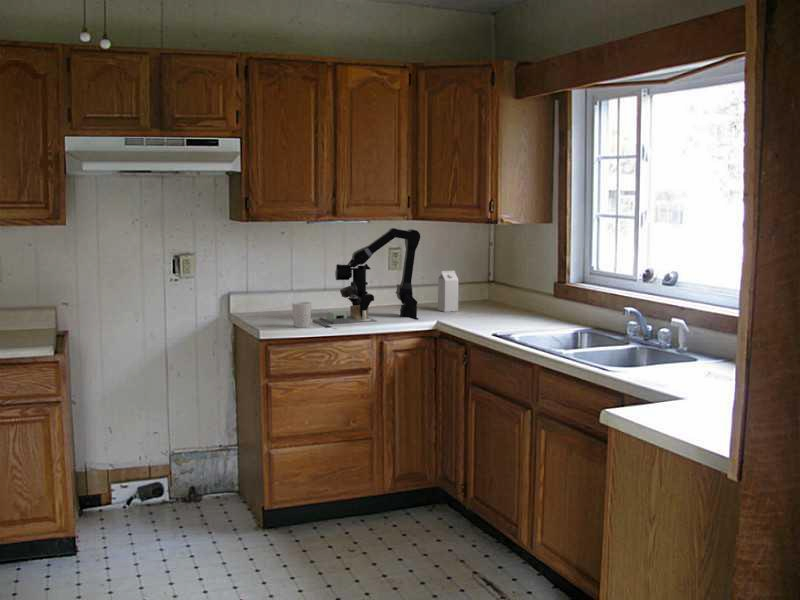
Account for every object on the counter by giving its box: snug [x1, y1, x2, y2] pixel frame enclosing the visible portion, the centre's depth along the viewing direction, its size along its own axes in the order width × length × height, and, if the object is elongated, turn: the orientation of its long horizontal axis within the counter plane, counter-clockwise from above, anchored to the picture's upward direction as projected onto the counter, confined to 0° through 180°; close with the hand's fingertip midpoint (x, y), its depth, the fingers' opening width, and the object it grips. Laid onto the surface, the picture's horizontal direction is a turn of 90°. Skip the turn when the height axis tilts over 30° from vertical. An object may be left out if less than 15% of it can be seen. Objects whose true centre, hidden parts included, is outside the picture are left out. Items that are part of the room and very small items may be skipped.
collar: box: [349, 305, 369, 319], centre depth 389 cm, size 6×6×5 cm
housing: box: [326, 310, 348, 322], centre depth 377 cm, size 6×7×4 cm
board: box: [312, 310, 377, 329], centre depth 382 cm, size 24×16×5 cm, turn 116°
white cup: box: [291, 301, 312, 329], centre depth 372 cm, size 8×8×10 cm
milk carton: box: [437, 270, 459, 313], centre depth 418 cm, size 7×7×19 cm
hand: (359, 315), depth 389 cm, fingers open, 6 cm apart
